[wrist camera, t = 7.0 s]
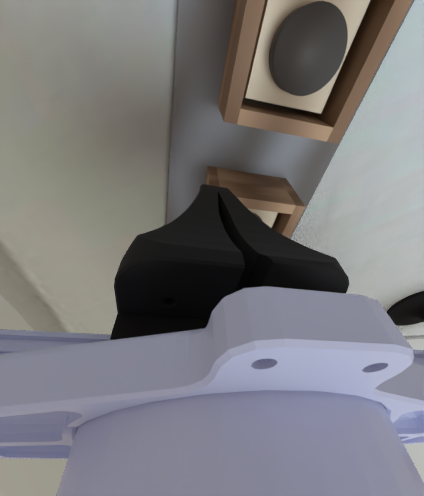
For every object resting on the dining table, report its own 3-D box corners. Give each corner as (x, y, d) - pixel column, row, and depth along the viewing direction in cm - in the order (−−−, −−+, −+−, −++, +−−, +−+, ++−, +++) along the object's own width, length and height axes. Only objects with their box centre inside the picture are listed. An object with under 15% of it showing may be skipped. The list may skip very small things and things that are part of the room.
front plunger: (337, 8, 14) (386, -6, 10) (301, 103, 17) (329, 118, 13) (259, -15, 13) (282, -39, 9) (237, 90, 16) (248, 101, 13)
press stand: (467, -121, 11) (631, -224, 7) (273, 263, 30) (286, 300, 25) (193, -239, 9) (189, -492, 5) (164, 253, 27) (158, 291, 23)
